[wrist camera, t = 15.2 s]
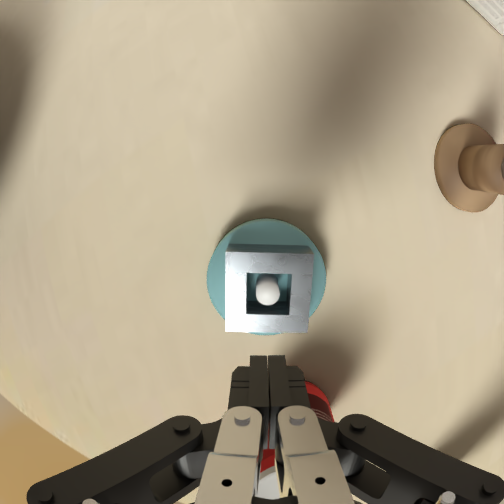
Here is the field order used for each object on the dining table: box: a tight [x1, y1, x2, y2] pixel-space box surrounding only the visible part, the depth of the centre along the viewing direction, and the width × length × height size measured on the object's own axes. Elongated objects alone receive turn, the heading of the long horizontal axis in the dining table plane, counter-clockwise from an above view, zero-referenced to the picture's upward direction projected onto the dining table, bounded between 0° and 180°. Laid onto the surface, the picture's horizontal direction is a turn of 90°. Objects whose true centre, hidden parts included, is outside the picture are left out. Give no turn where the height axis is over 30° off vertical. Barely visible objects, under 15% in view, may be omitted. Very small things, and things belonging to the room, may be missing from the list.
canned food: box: [258, 381, 334, 499], centre depth 24 cm, size 8×8×11 cm
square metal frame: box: [225, 244, 314, 333], centre depth 23 cm, size 6×6×2 cm
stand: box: [434, 124, 504, 212], centre depth 19 cm, size 8×8×10 cm
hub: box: [207, 218, 326, 335], centre depth 24 cm, size 9×9×4 cm
